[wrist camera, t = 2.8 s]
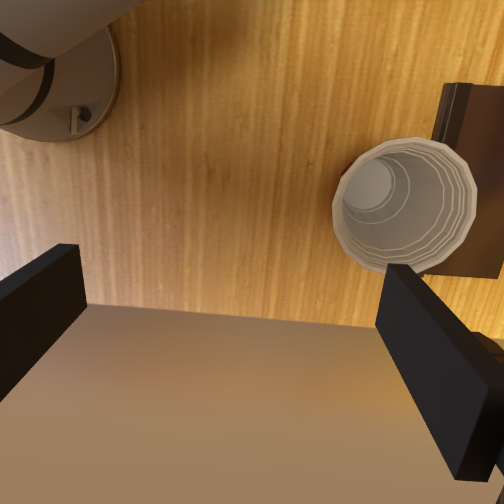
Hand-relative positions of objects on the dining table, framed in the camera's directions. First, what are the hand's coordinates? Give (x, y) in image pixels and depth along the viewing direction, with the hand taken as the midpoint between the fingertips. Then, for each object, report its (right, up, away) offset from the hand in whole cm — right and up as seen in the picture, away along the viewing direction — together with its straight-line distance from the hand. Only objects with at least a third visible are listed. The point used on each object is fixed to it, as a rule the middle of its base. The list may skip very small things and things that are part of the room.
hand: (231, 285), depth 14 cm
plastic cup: (+13, +9, +24) cm, 29 cm away
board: (+24, +8, +24) cm, 35 cm away
